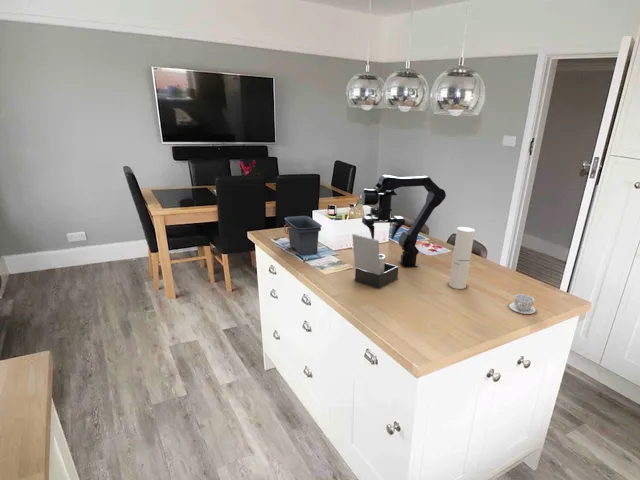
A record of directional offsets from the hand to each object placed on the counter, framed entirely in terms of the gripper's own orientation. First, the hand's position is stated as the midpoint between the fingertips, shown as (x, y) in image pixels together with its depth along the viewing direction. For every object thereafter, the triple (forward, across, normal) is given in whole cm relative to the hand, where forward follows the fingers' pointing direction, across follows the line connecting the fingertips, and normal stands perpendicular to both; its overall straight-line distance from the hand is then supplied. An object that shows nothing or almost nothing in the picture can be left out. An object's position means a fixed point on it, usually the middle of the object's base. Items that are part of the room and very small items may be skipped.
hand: (382, 239), depth 190 cm
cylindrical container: (+13, -26, +28) cm, 40 cm away
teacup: (+13, -41, +54) cm, 69 cm away
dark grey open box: (+13, +7, +16) cm, 22 cm away
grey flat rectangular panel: (-1, +13, +21) cm, 25 cm away
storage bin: (+13, +33, -28) cm, 45 cm away
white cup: (+12, +7, +16) cm, 21 cm away
